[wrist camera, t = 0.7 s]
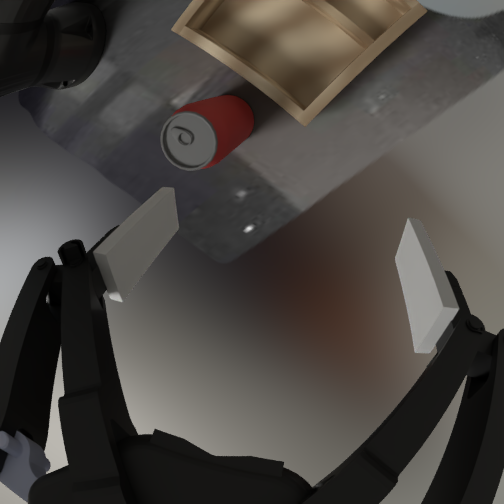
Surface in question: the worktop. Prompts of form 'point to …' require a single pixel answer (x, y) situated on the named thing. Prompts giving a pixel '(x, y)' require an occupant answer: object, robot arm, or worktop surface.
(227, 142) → the beer can
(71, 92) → the worktop surface
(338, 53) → the crate
